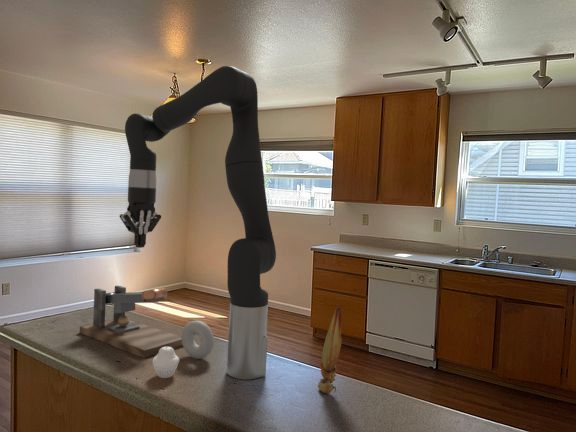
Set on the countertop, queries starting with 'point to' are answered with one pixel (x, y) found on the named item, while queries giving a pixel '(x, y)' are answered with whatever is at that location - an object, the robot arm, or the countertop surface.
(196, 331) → the donut
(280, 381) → the countertop surface
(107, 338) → the cracker base
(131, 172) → the robot arm
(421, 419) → the countertop surface
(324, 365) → the tan tall pointed piece
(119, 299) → the lever
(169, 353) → the white rounded bulbous piece
